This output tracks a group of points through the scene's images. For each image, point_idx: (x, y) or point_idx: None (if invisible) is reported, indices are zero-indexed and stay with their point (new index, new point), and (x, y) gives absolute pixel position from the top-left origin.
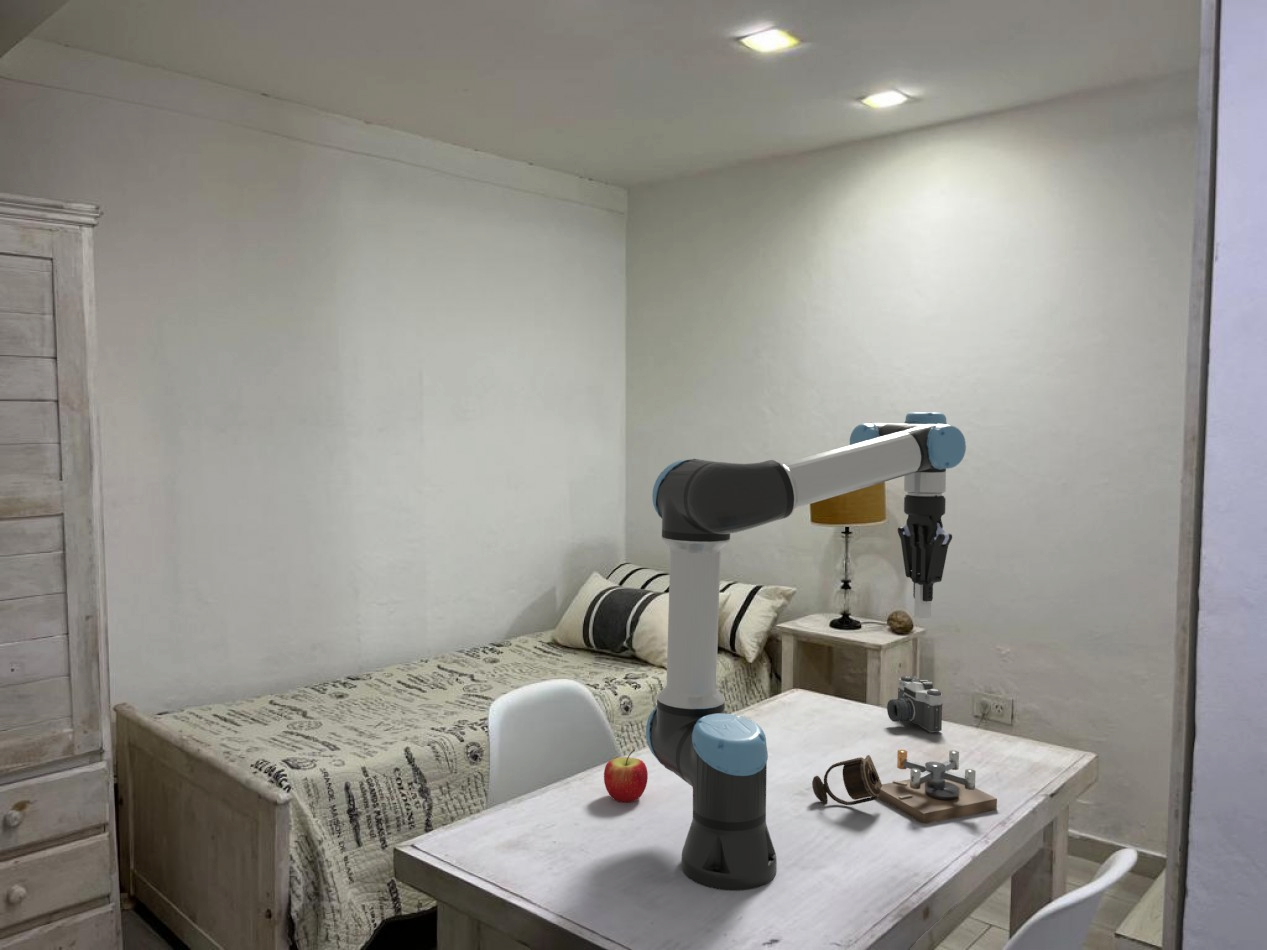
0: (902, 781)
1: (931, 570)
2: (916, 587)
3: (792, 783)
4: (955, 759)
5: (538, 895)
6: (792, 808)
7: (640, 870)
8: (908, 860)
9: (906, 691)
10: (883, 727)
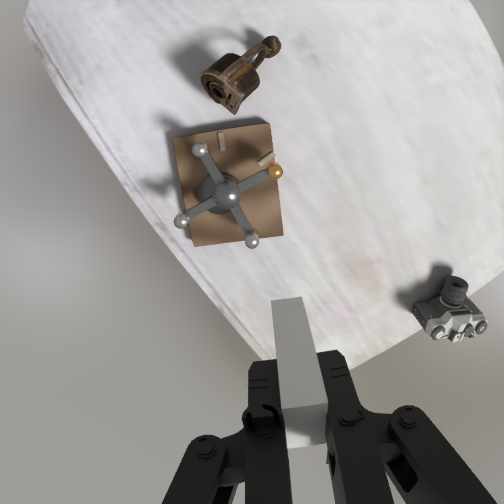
0: None
1: (180, 498)
2: (310, 388)
3: (335, 49)
4: (245, 237)
5: None
6: (260, 14)
7: None
8: (104, 85)
9: (465, 311)
10: (448, 261)
